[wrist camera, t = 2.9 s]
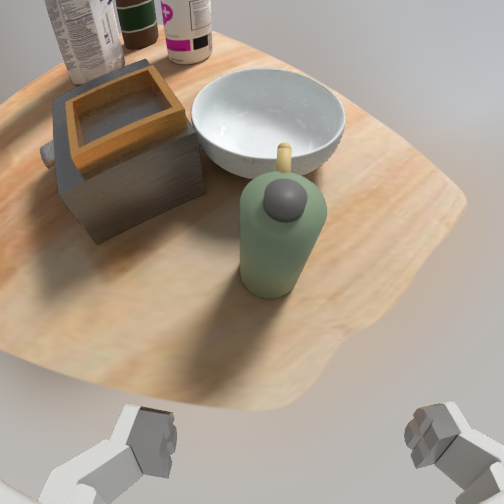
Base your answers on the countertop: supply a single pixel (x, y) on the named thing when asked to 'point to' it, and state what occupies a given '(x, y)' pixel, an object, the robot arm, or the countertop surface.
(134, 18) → the beer bottle
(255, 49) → the countertop surface
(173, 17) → the supplement can
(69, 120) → the box
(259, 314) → the countertop surface
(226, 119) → the cereal bowl
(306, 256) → the oil can
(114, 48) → the juice carton
